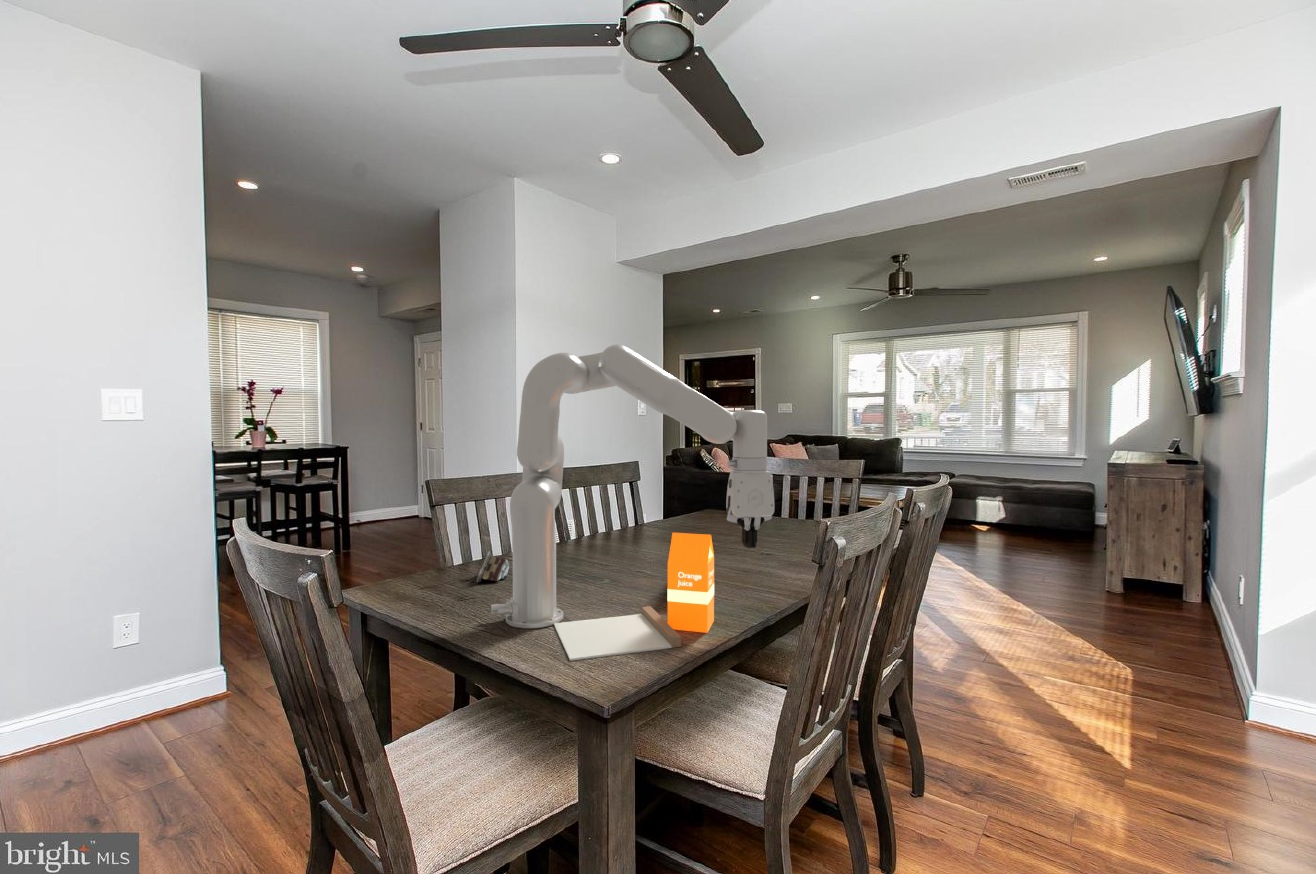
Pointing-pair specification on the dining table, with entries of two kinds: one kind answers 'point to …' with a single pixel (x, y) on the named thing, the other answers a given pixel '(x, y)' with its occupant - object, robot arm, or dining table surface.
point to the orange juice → (691, 582)
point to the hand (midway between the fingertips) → (749, 546)
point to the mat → (617, 635)
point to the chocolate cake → (493, 568)
